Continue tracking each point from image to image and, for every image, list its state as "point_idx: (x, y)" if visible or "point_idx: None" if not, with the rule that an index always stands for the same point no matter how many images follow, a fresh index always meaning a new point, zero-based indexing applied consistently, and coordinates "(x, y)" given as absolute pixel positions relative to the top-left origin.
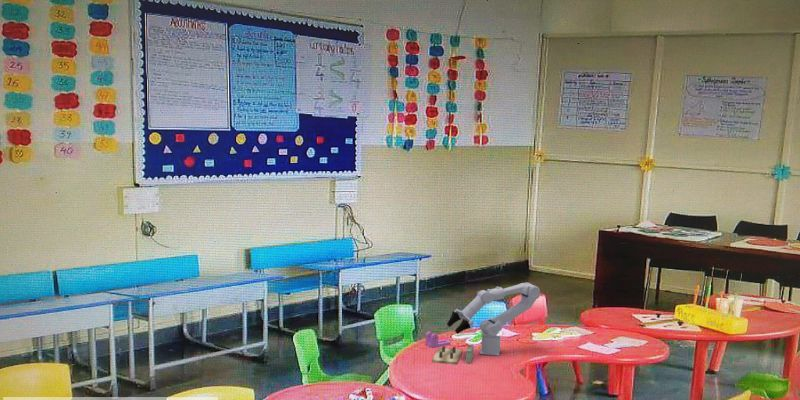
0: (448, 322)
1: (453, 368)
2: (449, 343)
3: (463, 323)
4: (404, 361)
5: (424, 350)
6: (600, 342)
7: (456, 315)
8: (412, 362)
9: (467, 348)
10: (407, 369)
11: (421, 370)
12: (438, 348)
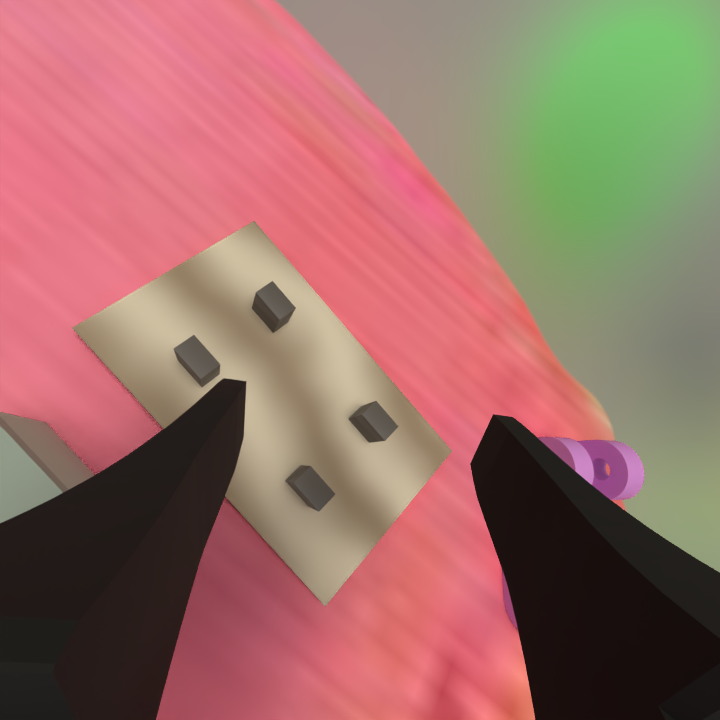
0: (519, 433)
1: (11, 234)
2: (513, 615)
3: (10, 522)
4: (358, 129)
5: (469, 361)
6: None
7: (643, 692)
8: (319, 144)
9: (54, 493)
10: (230, 32)
11: (156, 61)
12: (440, 441)
